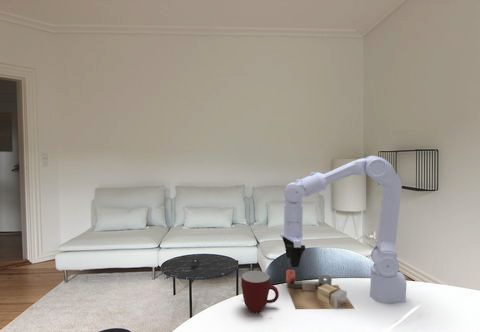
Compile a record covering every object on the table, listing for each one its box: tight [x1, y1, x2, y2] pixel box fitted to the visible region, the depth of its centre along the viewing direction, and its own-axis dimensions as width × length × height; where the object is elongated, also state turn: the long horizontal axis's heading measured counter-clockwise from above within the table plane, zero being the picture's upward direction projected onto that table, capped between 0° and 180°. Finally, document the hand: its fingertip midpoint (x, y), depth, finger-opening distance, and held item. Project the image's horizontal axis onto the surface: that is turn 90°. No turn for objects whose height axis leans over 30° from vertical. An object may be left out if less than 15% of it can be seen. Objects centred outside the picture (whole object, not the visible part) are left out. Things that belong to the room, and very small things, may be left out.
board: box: [287, 284, 356, 310], centre depth 99 cm, size 17×15×1 cm
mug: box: [240, 270, 280, 315], centre depth 92 cm, size 11×8×10 cm
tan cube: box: [318, 284, 337, 304], centre depth 97 cm, size 4×4×4 cm
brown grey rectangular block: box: [330, 288, 348, 310], centre depth 94 cm, size 5×2×4 cm, turn 130°
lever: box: [285, 269, 332, 291], centre depth 104 cm, size 14×5×5 cm, turn 86°
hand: (292, 261), depth 104 cm, fingers open, 7 cm apart
